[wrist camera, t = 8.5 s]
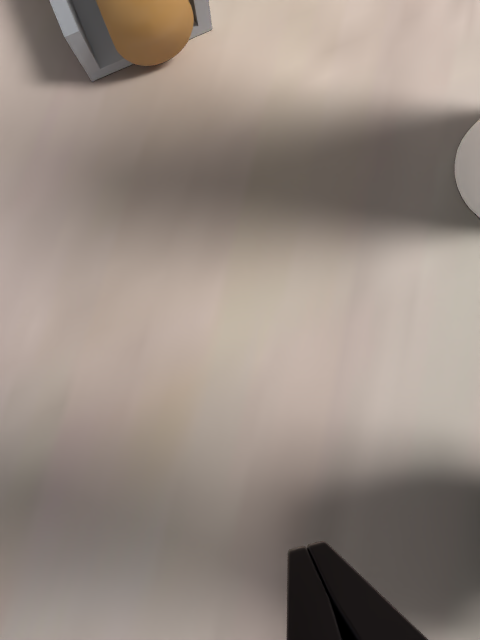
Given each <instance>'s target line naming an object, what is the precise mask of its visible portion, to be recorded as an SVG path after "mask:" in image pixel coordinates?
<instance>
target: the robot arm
mask: <svg viewBox="0 0 480 640" xmlns="http://www.w3.org/2000/svg"><path fill="white" fill-rule="evenodd" d="M287 640H428V639H427V638H426V637H425V636H424V635H423V634H422V633H421V632H420V631H419V630H417V629H416V628H415V627H414V626H413V625H412V624H411V623H410V622H409V621H408V620H407V619H406V618H405V617H404V616H403V615H402V614H401V613H400V612H399V611H398V610H397V609H395V608H394V607H393V606H392V605H391V604H390V603H389V602H388V601H387V600H386V599H385V598H384V597H383V596H382V595H381V594H380V593H379V592H378V591H377V590H376V589H374V588H373V587H372V586H371V585H370V584H369V583H368V582H367V581H366V580H365V579H364V578H363V577H362V576H361V575H360V574H359V573H358V572H357V571H356V570H355V569H354V568H352V567H351V566H350V565H349V564H348V563H347V562H346V561H345V560H344V559H343V558H342V557H341V556H340V555H339V554H338V553H337V552H336V551H335V550H334V549H333V548H331V547H330V546H329V545H328V544H327V543H326V542H324V541H320V542H316V543H313V544H309V545H308V546H307V548H306V547H304V546H301V547H298V548H294V549H290V550H289V551H288V573H287Z"/></svg>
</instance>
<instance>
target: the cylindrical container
mask: <svg viewBox="0 0 480 640" xmlns="http://www.w3.org/2000/svg"><path fill="white" fill-rule="evenodd" d="M455 179H456V183H457V187H458V190H459V192H460V194H461V196H462V198H463V200H464V201H465V203H466V204H467V206H468V207H469V208H470V209H471V210H472V211H473V212H474V213H475V214H476V215H477V216H478V217H479V218H480V119H479V120H478V121H477V122H476V123H475V124H474V125H473V126H472V127H471V128H470V129H469V131H468V132H467V133H466V135H465V136H464V137H463V139H462V141H461V143H460V145H459V148H458V150H457V154H456V159H455Z"/></svg>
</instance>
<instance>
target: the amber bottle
mask: <svg viewBox="0 0 480 640" xmlns="http://www.w3.org/2000/svg"><path fill="white" fill-rule="evenodd" d="M96 2H97V5H98V7H99V10H100V12H101V15H102V17H103V20H104V22H105V24H106V27H107V29H108V32H109V34H110V37H111V39H112V41H113V44H114V46H115V48H116V50H117V51H118V53H119V54H120V55H121V56H122V57H123V58H124V59H126V60H127V61H129V62H131V63H133V64H136V65H141V66H152V65H157V64H161V63H163V62H166V61H168V60H170V59H171V58H173V57H174V56H175V55H177V54H178V53H179V52H180V51H181V50H182V49H183V48H184V46H185V45H186V43H187V42H188V40H189V38H190V36H191V33H192V29H193V23H194V17H193V11H192V8H191V5H190V3H189V1H188V0H96Z"/></svg>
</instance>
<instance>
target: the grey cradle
mask: <svg viewBox="0 0 480 640" xmlns="http://www.w3.org/2000/svg"><path fill="white" fill-rule="evenodd" d="M49 1H50V3H51V6H52V8H53V11H54V13H55V16H56V18H57V20H58V23H59V25H60V28H61V30H62V33H63V35H64V37H65V39H66V41H67V42H68V44H69V45H70V47H71V49H72V50H73V52H74V54H75V55H76V57H77V58H78V60H79V62H80V63H81V65H82V66H83V68H84V70H85V71H86V73H87V75H88V76H89V78H90V79H91V81H92V82H93V81H95V80H97V79H99V78H102V77H104V76H106V75H109V74H111V73H113V72H116V71H118V70H120V69H122V68H125V67H127V66H129V65H132V64H133V63H131V62H129V61H127V60H126V59H124V58H123V57H122V56H121V55H120V54H119V53H118V51H117V50H116V48H115V46H114V44H113V41H112V39H111V37H110V34H109V32H108V29H107V27H106V24H105V22H104V20H103V17H102V15H101V12H100V10H99V7H98V5H97V2H96V0H49ZM188 1H189V3H190V5H191V8H192V11H193V17H194V23H193V29H192V33H191V36H190V38H189V39H191V38H194V37H196V36H198V35H201V34H203V33H205V32H208V31H210V30H212V23H211V15H210V8H209V0H188Z"/></svg>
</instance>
